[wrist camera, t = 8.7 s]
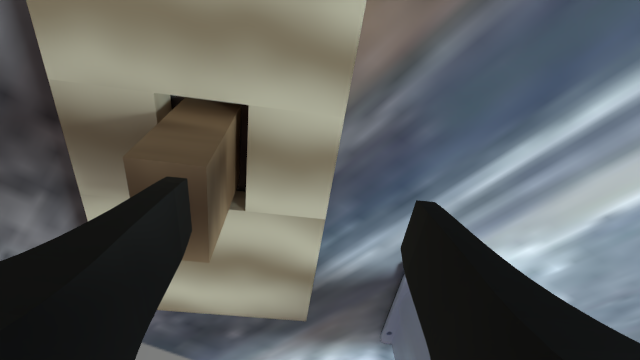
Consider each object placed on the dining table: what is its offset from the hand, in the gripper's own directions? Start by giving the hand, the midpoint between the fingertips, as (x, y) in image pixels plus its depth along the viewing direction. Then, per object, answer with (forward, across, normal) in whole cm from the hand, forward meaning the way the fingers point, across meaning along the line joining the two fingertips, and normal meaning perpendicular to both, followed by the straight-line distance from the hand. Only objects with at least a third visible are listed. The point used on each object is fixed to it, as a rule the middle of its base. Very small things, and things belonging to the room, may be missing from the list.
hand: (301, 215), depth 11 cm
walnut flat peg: (+9, +5, +2) cm, 11 cm away
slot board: (+9, +5, +4) cm, 12 cm away
